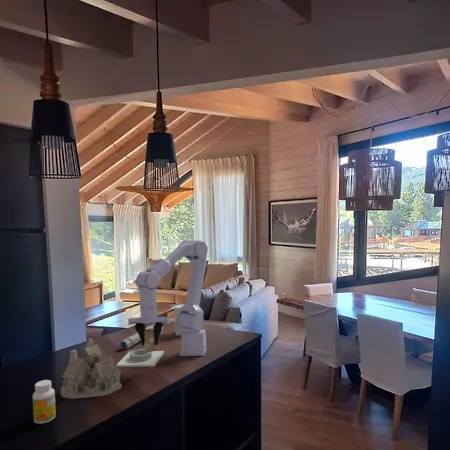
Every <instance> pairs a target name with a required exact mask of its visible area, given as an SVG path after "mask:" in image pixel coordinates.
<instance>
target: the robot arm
mask: <svg viewBox="0 0 450 450" xmlns="http://www.w3.org/2000/svg"><path fill="white" fill-rule="evenodd" d="M208 250H209V247H208V245H207V243H206V242H205V241H204V240H203V239H197V240H188V239H184V240H182V241H181V242H180V243H178V245H177V247H176V248H175V249H174V250H173V251H172V252H171V253H170V254H169V255H168V256H166V257H165V258H157V259H156V260H155V263H153V264H152V265H151V266H150V267H149V266H148V267H147V268H146V270H145V271H141V272H139V273H138V274H137V276H136V279H135V280H134V282H135V283H134V284H135V285H136V287H137V288H138V289H137V290H138V292H139V309H140V312H139V313H140V316H139V317H129V318H128V319H127V322H128V324H127V325H129V326H132V325H135V326H134V330H135V331H136V333H138V334H139V337H140V339H141V340H140V342H141V345H142V346H145V343H144V330H145V328H147V327H146V325H152V324H155V325H154V326H153V328H154V334H155V345H156V346H158V345H159V341H160V337H161V335H160V332H161V329H162V327H163V328H164V324H166V325H169V324H170V323H171V317H170V316H158V306H157V287H158V286H159V284H160V281H161V279H163V278H164V277H165V276H166V275H167V274H168V273H169V272H170V271H171V269H172V266H173V265H174V264H175V263H177V262H179V261H180V260H181V259H183V258H186V259H187V260H188V261H189V262H190V264H191V270H190V271H191V272H190V274H189V275H190V276H189V282H188V287H187V292H186V293H187V294H186V299H185V303H184V304H185V305H184V306H182V307H181V308H180V312H179V314H178V316H177V320H176V321H177V325H178V326H179V327H180V330H181V335H180V336H181V351H180V353H179V356H180V357H188V356H189V357H195V356H197V357H198V356H199V357H202V356H205V353H206V352H207V334H206V330H205V329H202V328H203V326H204V321H205V319H204V310H203V309H202V307H200V303H201V298H202V297H201V296H202V291H203V285H204V279H205V272H206V266H207V257H208V256H207V255H208ZM189 312H192V313H189Z"/></svg>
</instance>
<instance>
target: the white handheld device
mask: <svg viewBox="0 0 450 450" xmlns="http://www.w3.org/2000/svg"><path fill="white" fill-rule="evenodd" d="M154 325H155V324H150V325H148V326H147V327H145V329H149V328H153V326H154ZM163 334H164V326H163V327H162V329H161V332H160V336H162V335H163ZM139 342H141V339H140V337H139V334H138V333H137V332H136V333H134V334H132V335H131V336H126V337H125V339H124V340H121V341H120V343H119V347H120V349H121V350H122V349H125V350H124V351H127V350H129V349H130V348H133V347H134V346H135V345H136V344H138V343H139ZM128 348H129V349H128ZM126 349H127V350H126Z"/></svg>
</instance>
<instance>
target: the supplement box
mask: <svg viewBox="0 0 450 450" xmlns="http://www.w3.org/2000/svg"><path fill="white" fill-rule="evenodd" d="M184 305H185V303H183V304H176V305H175V307H174V308H173V313H174V328H175V329H174V330H175V331H174V333H175V336H181V330H180V327H179V326H178V325H177V321H176V320H177V316H178V314H179V312H180V308H181V307H182V306H184ZM189 313H193V312H189Z"/></svg>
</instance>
